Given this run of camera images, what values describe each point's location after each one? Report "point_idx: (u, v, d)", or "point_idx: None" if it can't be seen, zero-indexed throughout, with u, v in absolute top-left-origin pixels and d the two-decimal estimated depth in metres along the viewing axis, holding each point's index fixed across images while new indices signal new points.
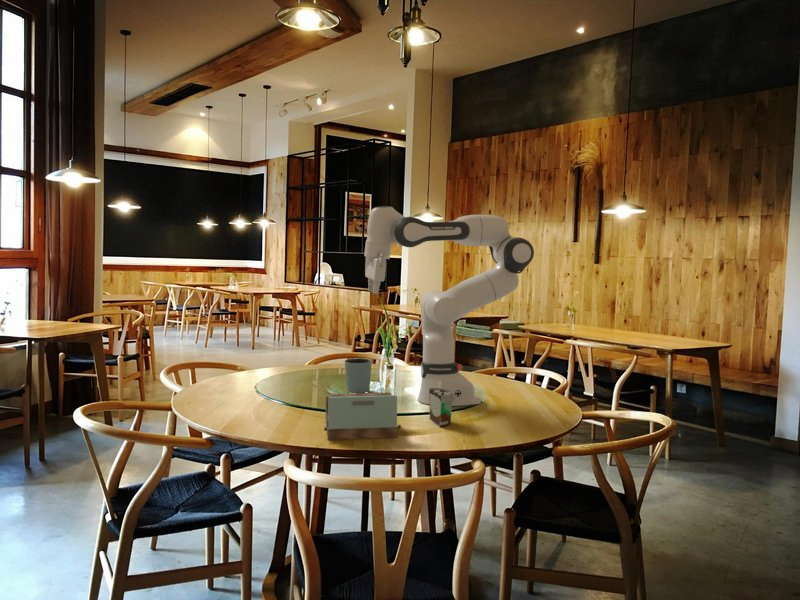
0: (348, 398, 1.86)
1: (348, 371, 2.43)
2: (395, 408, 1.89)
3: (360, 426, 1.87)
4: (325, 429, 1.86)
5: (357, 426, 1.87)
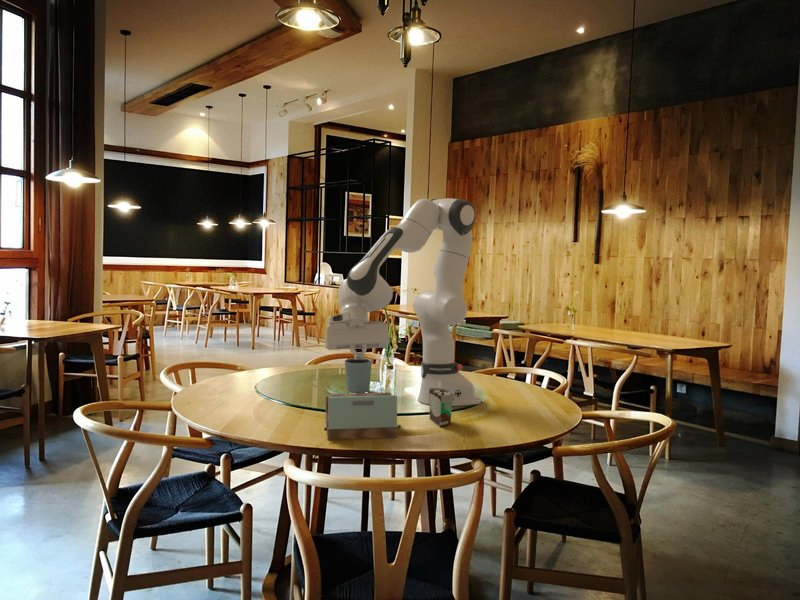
0: (348, 398, 1.86)
1: (348, 371, 2.43)
2: (395, 408, 1.89)
3: (360, 426, 1.87)
4: (325, 429, 1.86)
5: (357, 426, 1.87)
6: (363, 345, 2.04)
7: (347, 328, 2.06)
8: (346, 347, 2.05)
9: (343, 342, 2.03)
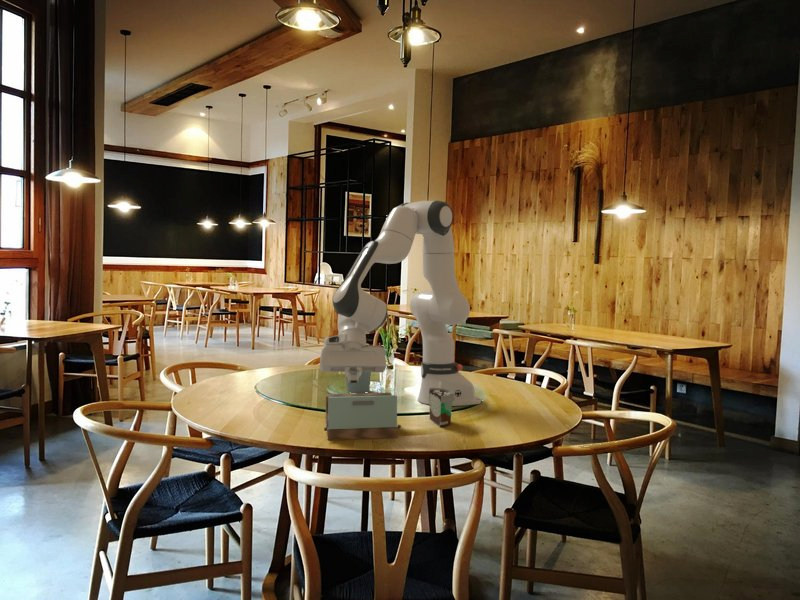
0: (348, 398, 1.86)
1: None
2: (395, 408, 1.89)
3: (360, 426, 1.87)
4: (325, 429, 1.86)
5: (357, 426, 1.87)
6: (358, 368, 1.97)
7: (343, 350, 2.00)
8: (341, 370, 1.99)
9: (337, 364, 1.96)
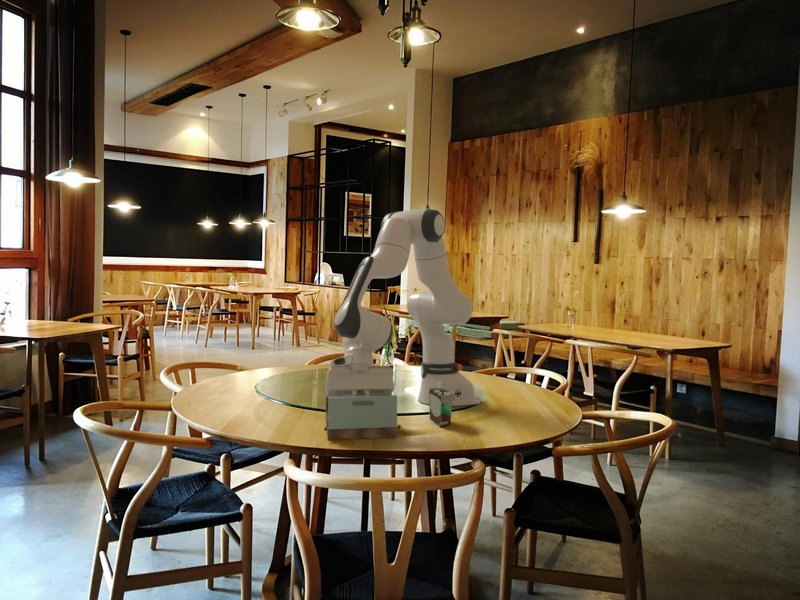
0: (348, 398, 1.86)
1: None
2: (395, 408, 1.88)
3: (360, 426, 1.87)
4: (325, 429, 1.86)
5: (357, 426, 1.87)
6: (365, 391, 1.91)
7: (349, 372, 1.94)
8: (347, 393, 1.92)
9: (344, 388, 1.90)
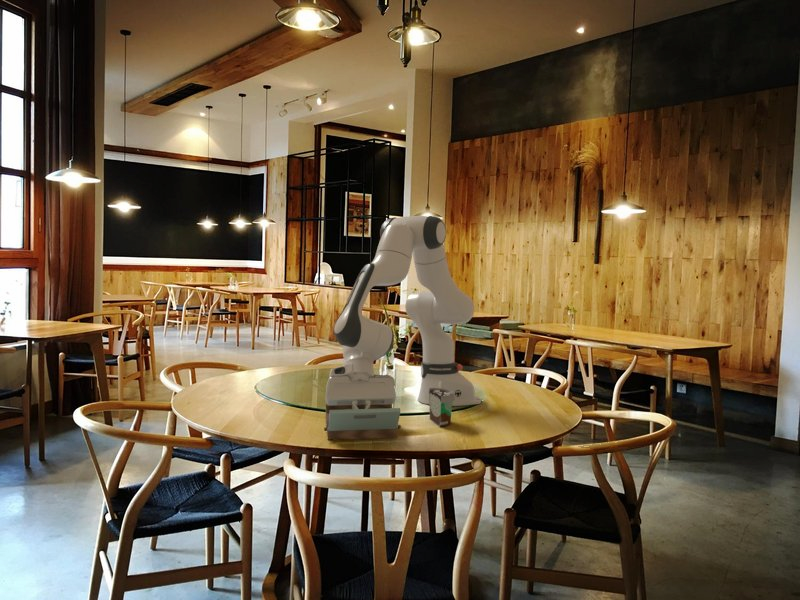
0: (350, 413, 1.80)
1: None
2: (397, 418, 1.85)
3: (360, 429, 1.87)
4: (325, 429, 1.86)
5: (357, 429, 1.87)
6: (366, 401, 1.86)
7: (350, 382, 1.89)
8: (348, 403, 1.88)
9: (344, 398, 1.85)
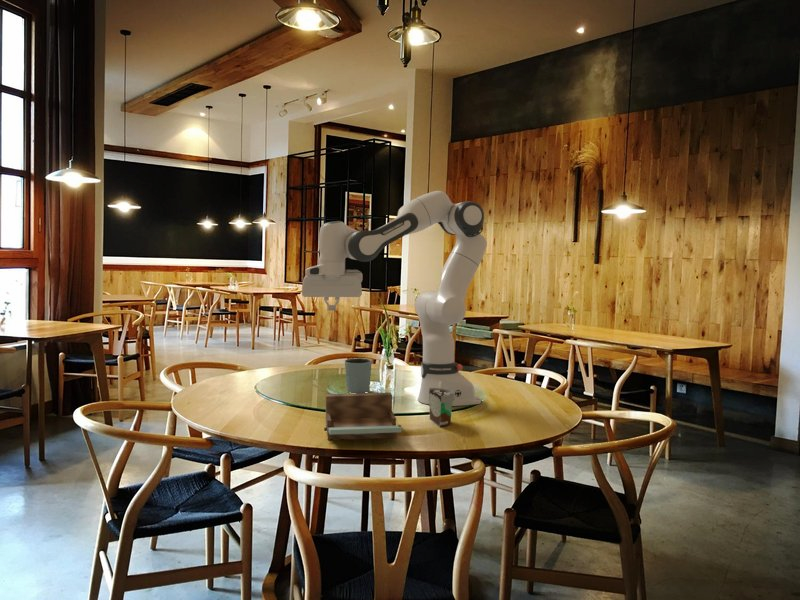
0: (350, 433, 1.78)
1: (348, 371, 2.43)
2: None
3: None
4: (325, 429, 1.86)
5: None
6: (336, 298, 2.20)
7: (323, 280, 2.18)
8: None
9: (317, 295, 2.19)
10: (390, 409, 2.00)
